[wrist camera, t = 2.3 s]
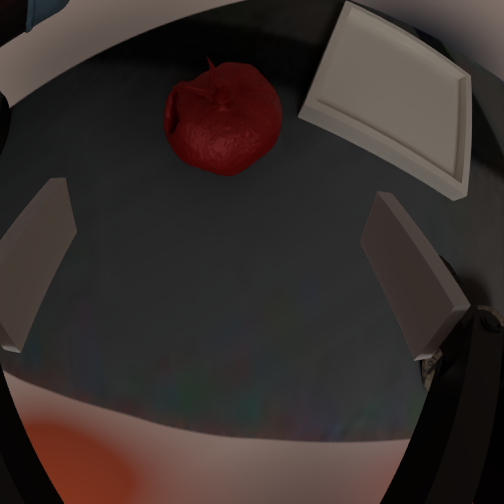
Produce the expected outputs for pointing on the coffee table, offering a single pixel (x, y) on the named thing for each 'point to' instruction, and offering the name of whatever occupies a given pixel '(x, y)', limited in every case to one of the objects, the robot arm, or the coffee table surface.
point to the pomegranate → (223, 118)
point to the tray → (394, 100)
